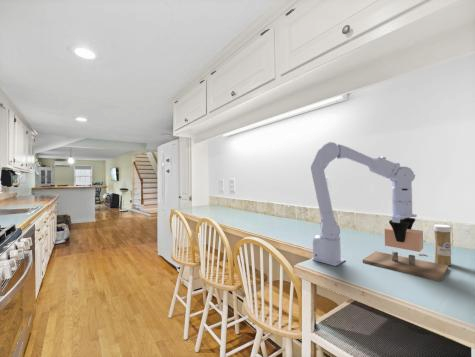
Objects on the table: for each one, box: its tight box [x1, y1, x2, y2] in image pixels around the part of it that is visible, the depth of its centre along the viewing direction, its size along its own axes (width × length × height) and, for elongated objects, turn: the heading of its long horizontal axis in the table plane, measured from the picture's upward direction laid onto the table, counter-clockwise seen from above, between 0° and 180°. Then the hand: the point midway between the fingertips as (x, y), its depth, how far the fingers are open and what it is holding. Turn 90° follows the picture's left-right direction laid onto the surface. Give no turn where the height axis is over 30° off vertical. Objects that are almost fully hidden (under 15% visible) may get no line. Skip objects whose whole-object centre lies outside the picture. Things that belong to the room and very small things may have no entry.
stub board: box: [362, 251, 449, 282], centre depth 83 cm, size 22×13×4 cm, turn 41°
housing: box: [384, 226, 424, 252], centre depth 83 cm, size 10×5×6 cm, turn 41°
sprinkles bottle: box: [433, 224, 452, 267], centre depth 84 cm, size 5×5×14 cm
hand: (402, 240), depth 83 cm, fingers closed on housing, 5 cm apart
